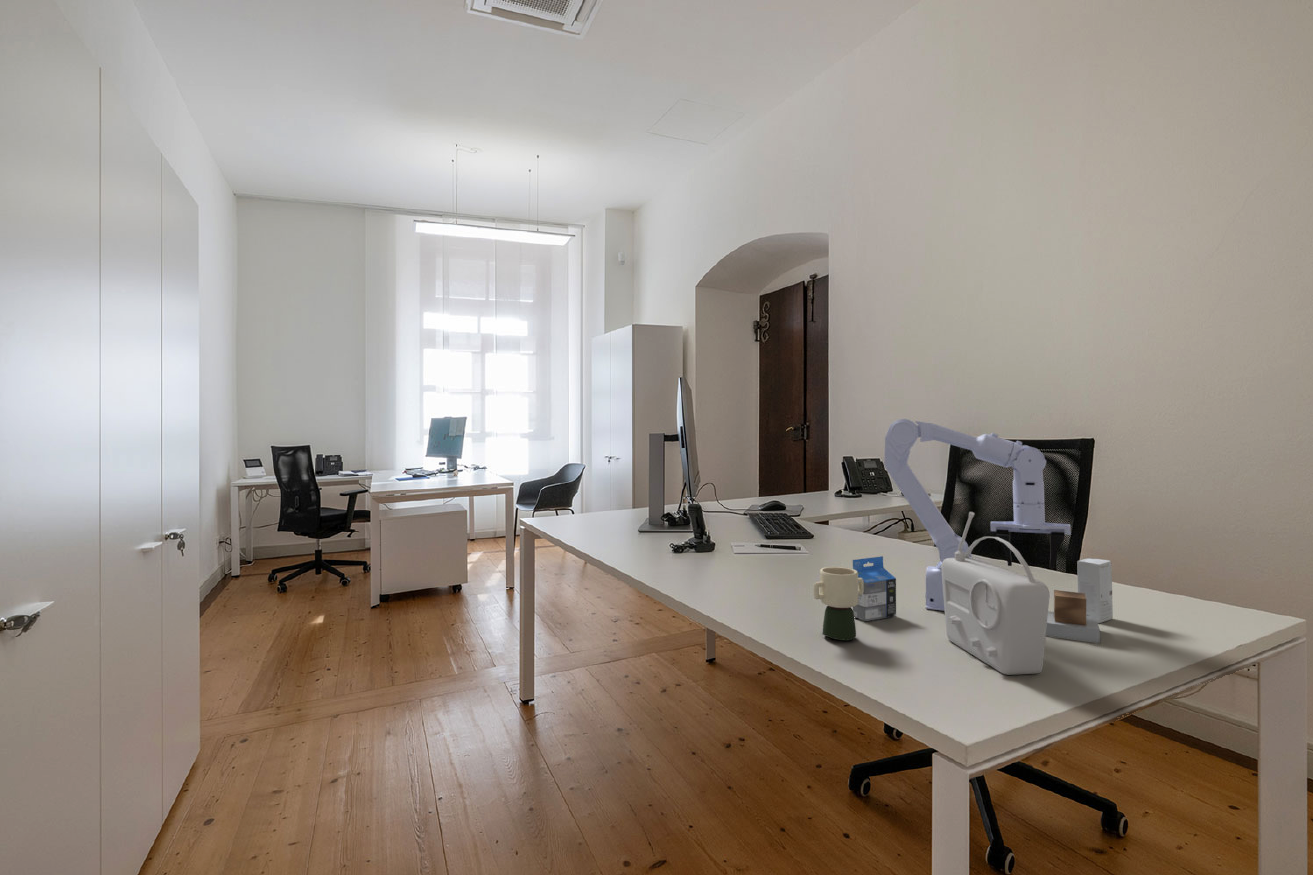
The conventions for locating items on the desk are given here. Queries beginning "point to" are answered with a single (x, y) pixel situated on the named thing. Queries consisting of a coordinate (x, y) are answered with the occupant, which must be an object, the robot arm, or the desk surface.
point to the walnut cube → (1069, 607)
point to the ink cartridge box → (875, 590)
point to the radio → (995, 610)
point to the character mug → (839, 600)
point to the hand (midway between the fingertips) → (1030, 566)
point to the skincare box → (1096, 587)
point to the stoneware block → (1073, 629)
